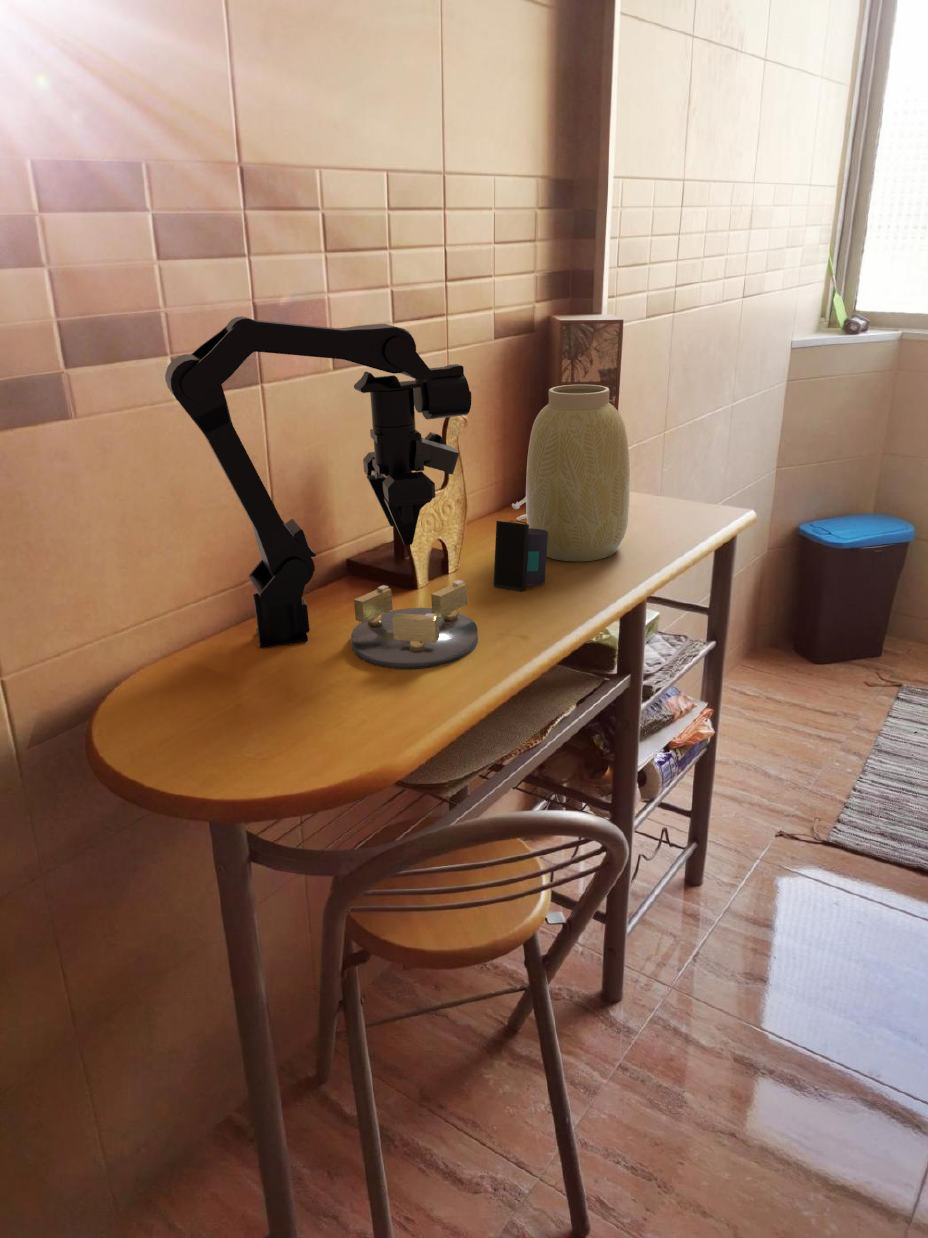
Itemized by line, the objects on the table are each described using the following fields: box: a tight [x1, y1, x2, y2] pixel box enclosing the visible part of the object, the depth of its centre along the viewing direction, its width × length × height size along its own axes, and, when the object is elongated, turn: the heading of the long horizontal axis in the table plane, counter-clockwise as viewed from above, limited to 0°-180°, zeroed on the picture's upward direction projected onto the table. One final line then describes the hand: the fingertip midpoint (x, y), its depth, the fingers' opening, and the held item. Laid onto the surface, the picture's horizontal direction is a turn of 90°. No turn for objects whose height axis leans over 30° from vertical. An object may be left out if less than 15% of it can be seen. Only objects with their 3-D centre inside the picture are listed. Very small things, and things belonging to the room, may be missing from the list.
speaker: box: [493, 520, 548, 593], centre depth 142 cm, size 8×6×10 cm
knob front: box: [392, 613, 439, 652], centre depth 118 cm, size 6×2×5 cm, turn 75°
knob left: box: [353, 584, 394, 628], centre depth 126 cm, size 6×2×5 cm, turn 141°
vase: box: [525, 384, 631, 562], centre depth 154 cm, size 17×17×27 cm
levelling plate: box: [350, 607, 479, 670], centre depth 125 cm, size 17×17×2 cm
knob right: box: [430, 579, 468, 622], centre depth 127 cm, size 6×2×5 cm, turn 141°
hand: (401, 534), depth 130 cm, fingers open, 9 cm apart
